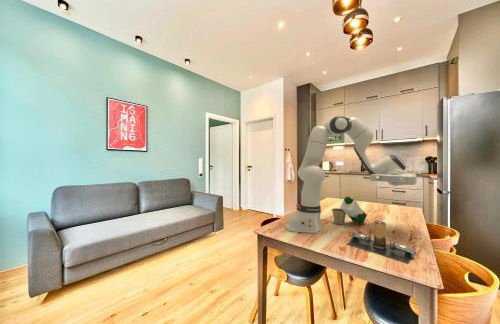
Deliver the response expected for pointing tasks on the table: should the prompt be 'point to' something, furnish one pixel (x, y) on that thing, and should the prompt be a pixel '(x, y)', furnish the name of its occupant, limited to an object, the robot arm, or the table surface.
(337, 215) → the flower pot
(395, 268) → the table surface
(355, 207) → the milk carton
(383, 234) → the amber capped cylinder
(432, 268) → the table surface
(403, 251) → the shaft bench
